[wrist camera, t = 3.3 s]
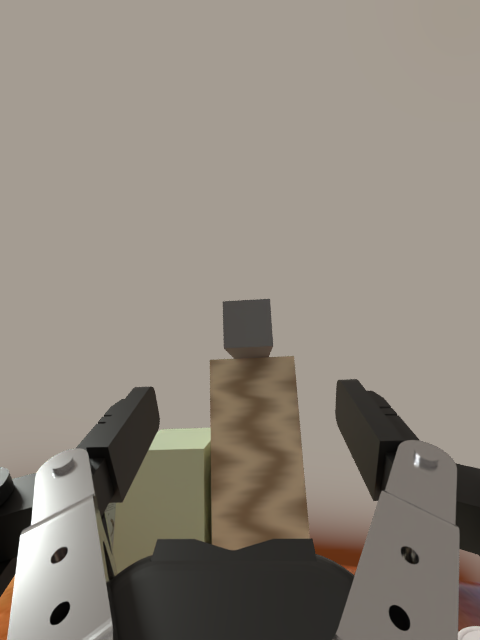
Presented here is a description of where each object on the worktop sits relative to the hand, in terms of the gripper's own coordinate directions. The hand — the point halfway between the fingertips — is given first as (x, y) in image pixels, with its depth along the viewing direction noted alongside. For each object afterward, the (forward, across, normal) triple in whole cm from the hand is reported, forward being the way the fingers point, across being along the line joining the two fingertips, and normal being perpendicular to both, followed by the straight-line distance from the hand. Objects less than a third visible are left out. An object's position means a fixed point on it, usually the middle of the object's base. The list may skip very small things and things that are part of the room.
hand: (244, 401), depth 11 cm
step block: (+9, +11, +38) cm, 41 cm away
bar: (+21, 0, +8) cm, 22 cm away
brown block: (+9, 0, +38) cm, 39 cm away
